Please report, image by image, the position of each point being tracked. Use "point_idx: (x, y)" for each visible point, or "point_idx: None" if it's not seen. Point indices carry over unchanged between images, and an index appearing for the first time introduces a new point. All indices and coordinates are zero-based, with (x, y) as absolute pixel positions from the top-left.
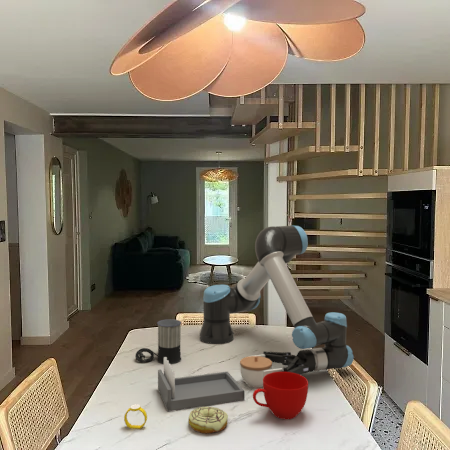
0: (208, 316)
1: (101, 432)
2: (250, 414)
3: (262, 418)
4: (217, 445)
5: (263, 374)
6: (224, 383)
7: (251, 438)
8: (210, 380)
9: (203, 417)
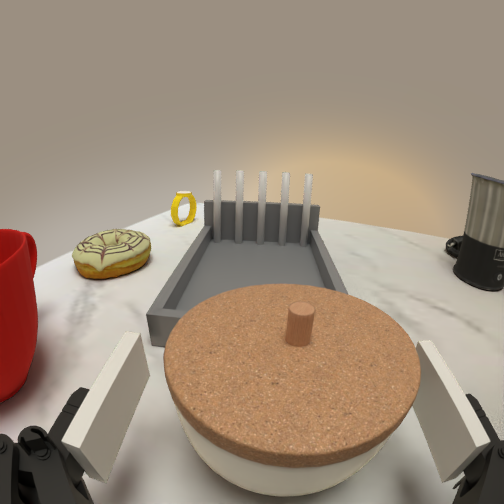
0: None
1: (196, 211)
2: (73, 320)
3: None
4: (58, 257)
5: (142, 353)
6: None
7: None
8: None
9: (102, 232)
